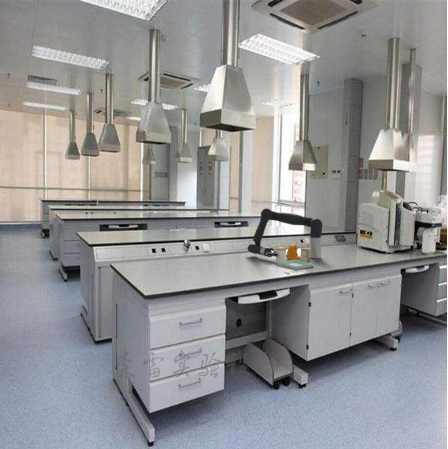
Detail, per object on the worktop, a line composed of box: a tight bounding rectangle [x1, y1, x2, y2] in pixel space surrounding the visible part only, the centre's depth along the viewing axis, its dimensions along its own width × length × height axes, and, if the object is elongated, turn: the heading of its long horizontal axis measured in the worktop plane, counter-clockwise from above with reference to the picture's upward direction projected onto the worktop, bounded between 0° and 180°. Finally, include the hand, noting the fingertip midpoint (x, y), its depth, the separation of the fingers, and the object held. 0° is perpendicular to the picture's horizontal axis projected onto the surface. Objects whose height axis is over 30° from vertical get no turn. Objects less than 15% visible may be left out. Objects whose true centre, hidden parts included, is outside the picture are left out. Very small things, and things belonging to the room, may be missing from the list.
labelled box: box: [275, 246, 287, 264], centre depth 285 cm, size 5×5×12 cm
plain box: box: [299, 247, 311, 263], centre depth 284 cm, size 5×5×12 cm
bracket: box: [286, 244, 301, 261], centre depth 301 cm, size 11×7×12 cm, turn 117°
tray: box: [277, 259, 314, 271], centre depth 273 cm, size 18×18×3 cm
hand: (281, 254), depth 285 cm, fingers open, 8 cm apart
